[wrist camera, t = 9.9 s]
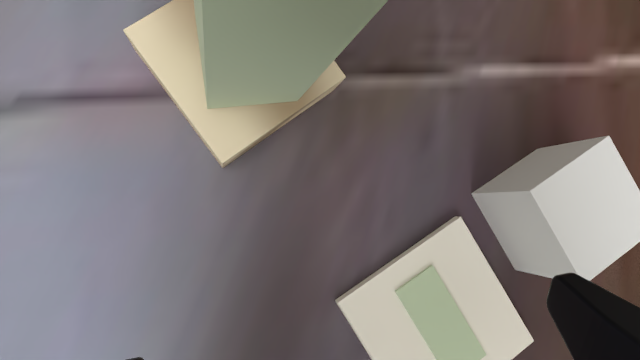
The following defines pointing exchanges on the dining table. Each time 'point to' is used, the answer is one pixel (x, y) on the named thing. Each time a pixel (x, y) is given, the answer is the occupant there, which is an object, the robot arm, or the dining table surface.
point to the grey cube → (564, 209)
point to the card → (436, 304)
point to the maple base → (189, 92)
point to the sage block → (272, 45)
